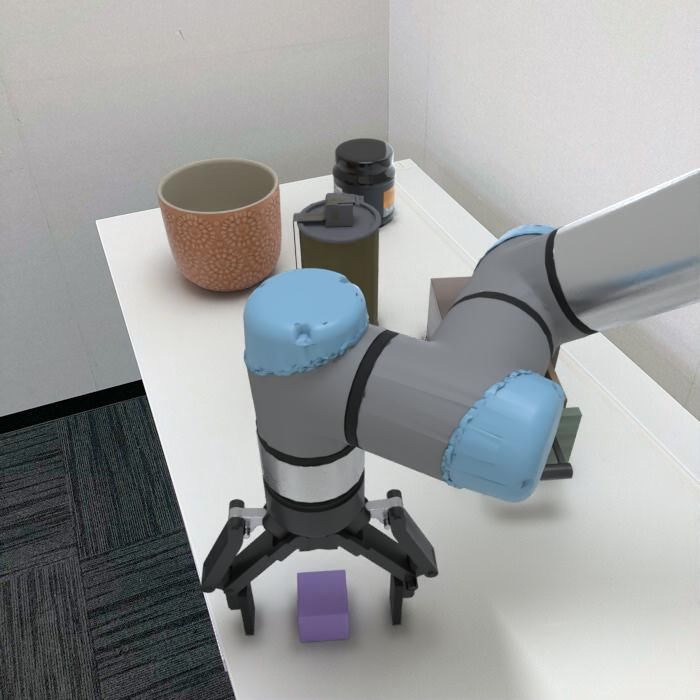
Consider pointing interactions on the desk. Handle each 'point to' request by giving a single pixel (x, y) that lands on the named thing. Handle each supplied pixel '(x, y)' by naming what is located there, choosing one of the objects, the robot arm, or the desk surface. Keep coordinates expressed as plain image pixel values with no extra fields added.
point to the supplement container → (367, 173)
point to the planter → (222, 221)
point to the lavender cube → (322, 605)
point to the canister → (343, 242)
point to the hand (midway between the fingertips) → (323, 616)
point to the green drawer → (561, 438)
